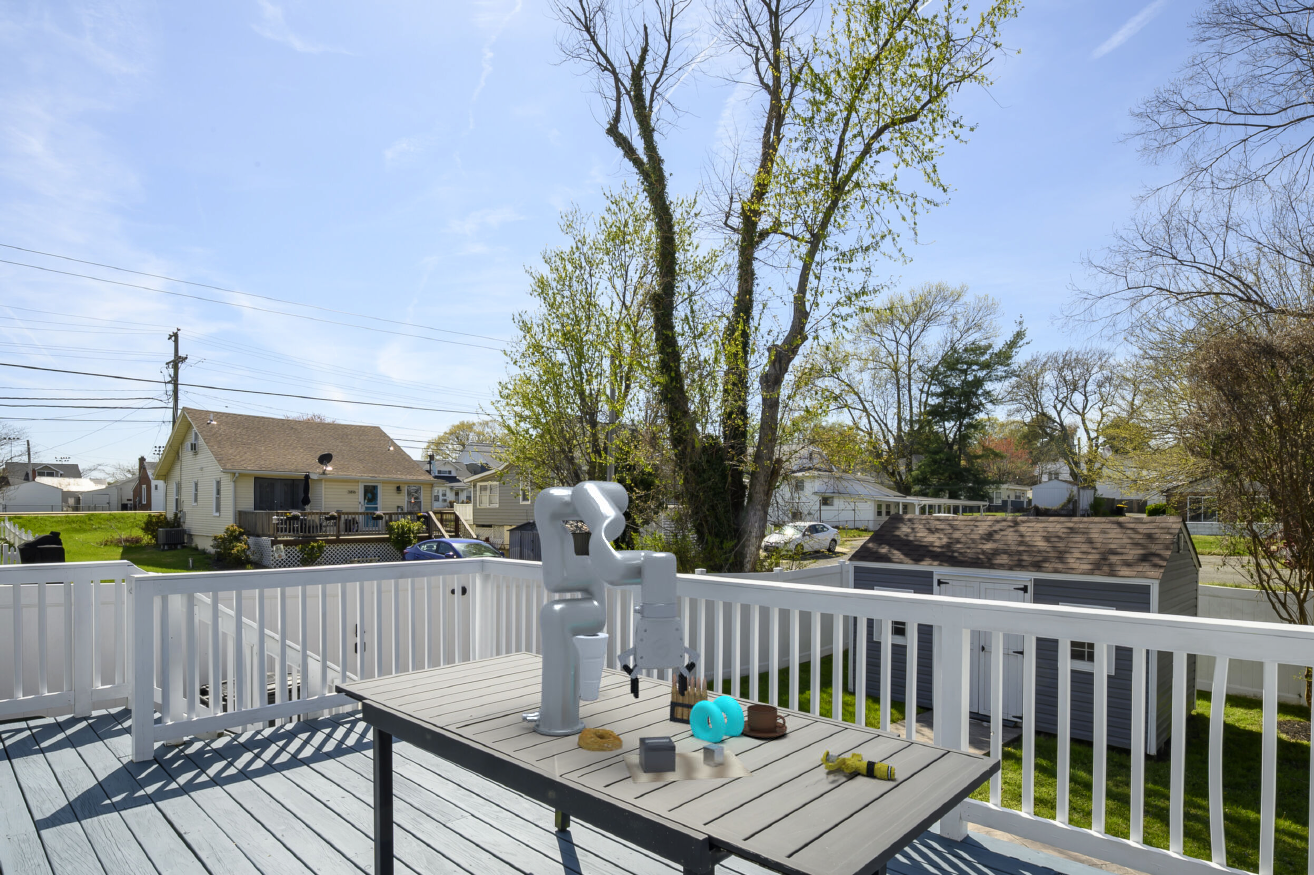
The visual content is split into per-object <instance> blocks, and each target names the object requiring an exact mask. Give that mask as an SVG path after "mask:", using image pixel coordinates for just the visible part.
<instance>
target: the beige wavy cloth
mask: <svg viewBox="0 0 1314 875" xmlns="http://www.w3.org/2000/svg"><path fill="white" fill-rule="evenodd" d="M622 758H623V760H624V763H625V765H626V767H627V768H626V769H627V770H628V773H629V774H630V777H631V779H632V782H633V784H638V783H639V784H641V783H643V784H644V783H658V782H660V783H661V782H675V781H676V782H678V781H695V780H707V779H708V780H712V779H725V778H744V777H754V775H753V774H752V772H751V771H749V770H748V768H747V767H746V766H745V765H744V764H743V762H742V761H740V759H739V758H738V757H737V756H736V755H735V754H734V752H732V750H724V764H722V765H720V766H717V767H712V766H708V765H705V764H703V751H688V752H676V765H675V772H659V773H644V772H643V770H642V768H641V766H640V763H639V754H631V755H630V754H629V755H628V754H627V755H622Z"/></svg>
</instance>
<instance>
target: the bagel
mask: <svg viewBox="0 0 1314 875" xmlns="http://www.w3.org/2000/svg"><path fill="white" fill-rule="evenodd" d="M577 746H578V747H579V748H581V749H583V750H586V751H590V752H602V753H603V752H605V753H607V752H613V751H618V750H620V749H622V748H623V747H622V746H623V739H622V738H621V737H620V736H619V735H618V734H616V732H615V731H614V730H611V729H607V728H594V727H593V728H592V727H587V728H586V727H585V729H583V730H582V731H581V732H579V735H578V741H577Z"/></svg>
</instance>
